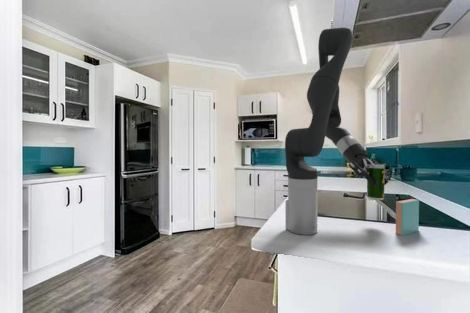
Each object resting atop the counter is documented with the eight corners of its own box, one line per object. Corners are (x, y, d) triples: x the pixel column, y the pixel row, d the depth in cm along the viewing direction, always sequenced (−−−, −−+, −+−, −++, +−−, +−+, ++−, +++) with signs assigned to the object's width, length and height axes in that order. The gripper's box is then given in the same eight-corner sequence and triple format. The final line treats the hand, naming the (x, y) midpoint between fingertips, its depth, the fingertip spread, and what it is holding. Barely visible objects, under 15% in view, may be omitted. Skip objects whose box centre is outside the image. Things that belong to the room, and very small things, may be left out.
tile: (395, 233, 77) (396, 201, 76) (411, 228, 81) (412, 198, 81) (402, 235, 75) (402, 203, 75) (418, 230, 79) (419, 199, 79)
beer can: (367, 199, 85) (368, 165, 85) (365, 196, 90) (366, 164, 90) (385, 200, 83) (386, 165, 83) (382, 198, 88) (383, 164, 88)
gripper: (344, 142, 89) (375, 178, 79) (369, 143, 96) (401, 176, 86) (332, 156, 94) (360, 192, 84) (356, 156, 101) (385, 189, 91)
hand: (380, 184), depth 85 cm, fingers closed on beer can, 5 cm apart
